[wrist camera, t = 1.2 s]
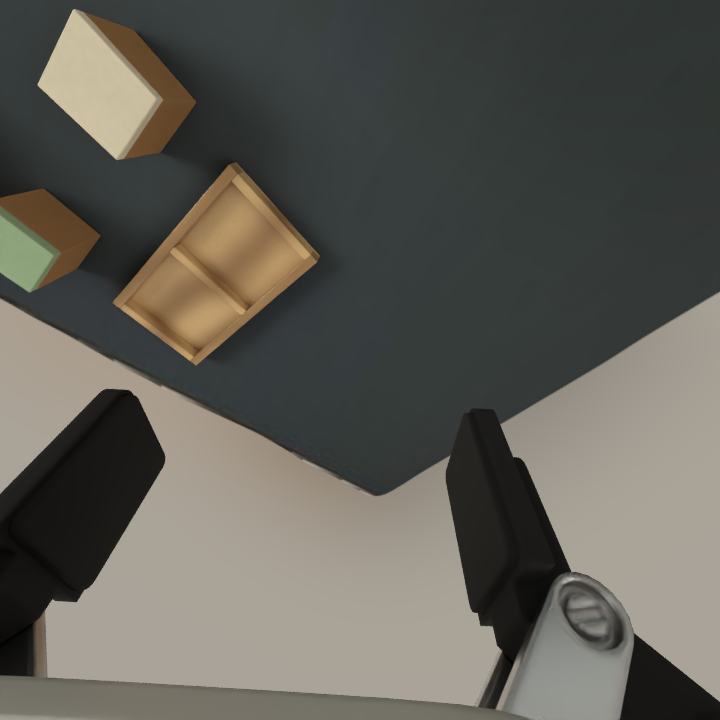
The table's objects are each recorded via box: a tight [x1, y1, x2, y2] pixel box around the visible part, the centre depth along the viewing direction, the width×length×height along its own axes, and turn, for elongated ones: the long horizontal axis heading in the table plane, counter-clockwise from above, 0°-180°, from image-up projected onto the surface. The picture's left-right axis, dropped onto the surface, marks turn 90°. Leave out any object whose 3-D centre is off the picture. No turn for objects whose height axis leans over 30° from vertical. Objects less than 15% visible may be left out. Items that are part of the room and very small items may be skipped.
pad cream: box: [38, 9, 196, 160], centre depth 22 cm, size 5×5×6 cm
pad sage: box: [0, 189, 101, 292], centre depth 28 cm, size 5×5×6 cm
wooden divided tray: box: [113, 162, 319, 365], centre depth 32 cm, size 10×18×2 cm, turn 130°
